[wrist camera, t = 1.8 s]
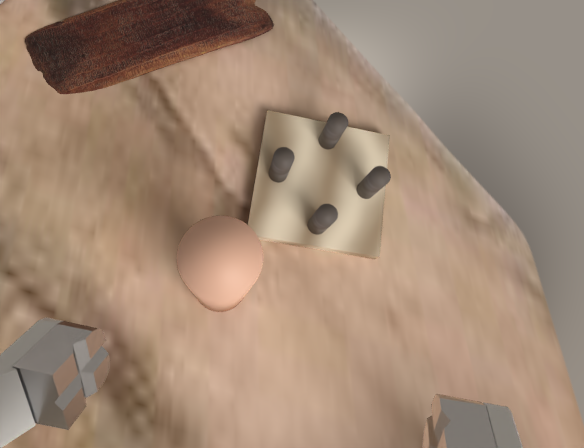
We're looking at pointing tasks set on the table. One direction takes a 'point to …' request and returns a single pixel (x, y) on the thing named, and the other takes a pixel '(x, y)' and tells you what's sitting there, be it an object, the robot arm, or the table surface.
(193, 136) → the table surface
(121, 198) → the table surface
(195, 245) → the post
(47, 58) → the wooden tablet
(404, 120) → the table surface
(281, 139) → the peg stand
